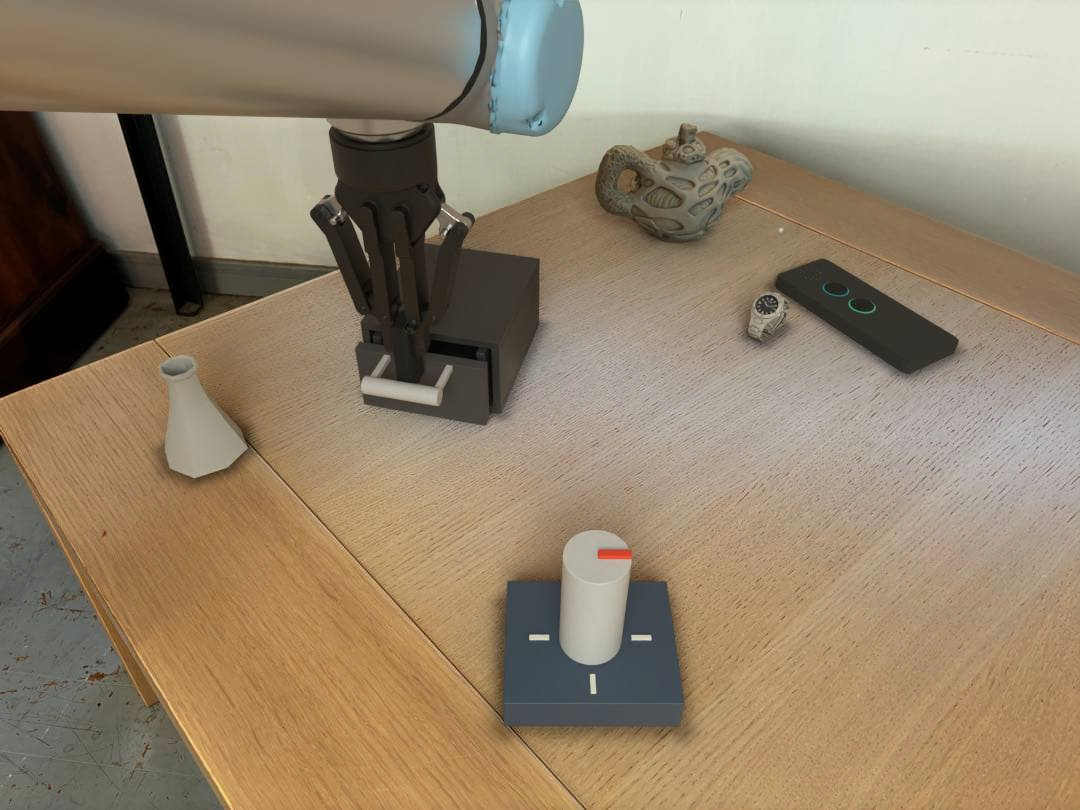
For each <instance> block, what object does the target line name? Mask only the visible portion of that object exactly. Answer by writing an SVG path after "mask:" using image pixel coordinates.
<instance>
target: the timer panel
mask: <svg viewBox="0 0 1080 810" xmlns="http://www.w3.org/2000/svg"><path fill="white" fill-rule="evenodd" d="M561 582H562V580H507V581H506V603H505V604H506V605H505V631H504V632H505V634H504V635H505V637H504V639H505V640H504V661H503V662H504V663H503V665H504V667H503V692H502V693H503V695H502V700H503V701H502V708H503V709H502V710H503V727H680V725H681V721H682V720H681V719H682V715H683V712H684V707H685V698H684V691H683V683H682V677H681V671H680V670H681V669H680V664H679V656H678V650H677V643H676V637H675V630H674V622H673V616H672V615H673V614H672V608H671V601H670V596H669V589H668V582H667V581H665V580H662V581H661V580H660V581H659V580H657V581H656V580H655V581H654V580H653V581H649V580H648V581H647V580H646V581H645V580H644V581H643V580H642V581H641V580H640V581H639V580H634V581H633V580H629V587H628V595H627V603H626V610H625V618H624V626H623V634H622V641H621V646H620V649H619V651H618V653H617V654H616V655H615V656H614V657H613V658H612V659H611V660H609V661H607V662H605V663H602V664H598V665H585V664H581V663H579V662H576V661H574V660H573V659H571V658H570V657H569V656H568V655H567V654H566V653H565V652H564V651H563V649H562V647H561V645H560V641H559V629H560V605H561Z"/></svg>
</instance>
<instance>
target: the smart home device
mask: <svg viewBox="0 0 1080 810" xmlns="http://www.w3.org/2000/svg"><path fill="white" fill-rule="evenodd" d="M775 283H776V284H775V288H776V289H778V290H779V291H780V292H781V293H783V294H785V295H786V296H787V297H789V298H790V299H791V300H793V301H795V302H796V303H797V304H799V305H800V306H802V307H804V308H805V309H807V310H808V311H809V312H811V313H813V314H814V315H816V316H817V317H819V318H820V319H822V320H823V321H825V322H826V323H827V324H829V325H831V326H832V327H834V328H835V329H837V330H838V331H840V333H843V334H844V335H845V336H847V337H848V338H850V339H852V340H853V341H855V342H856V343H858V344H859V345H861V347H863V348H866V350H868V351H869V352H871V353H872V354H874V355H876V356H877V357H879V358H880V359H881V360H883V361H884V362H886V363H887V364H889V365H891V366H892V367H894V368H895V369H896V370H898V371H900V372H902V373H904V374H906V375H907V374H908V375H910V374H913V373H914V372H917V371H919V370H921V369H923V368H925V367H928V366H929V365H932V364H934V363H936V362H938V361H941V360H943V359H945V358H947V357H949V356H951V355H953V354H955V352H956V350H957V347H958V345H959V343H960V340H959V338H958V337H957V336H955V335H954V334H952V333H951V332H948V330H945V329H944V328H942V327H941V326H939V325H937V324H935V323H934V322H932V321H930V320H929V319H927V318H926V317H924V316H922V315H920V314H919V313H917V312H916V311H913V310H912V309H911V308H909V307H907V306H905V305H904V304H903V303H901V302H899V301H897V300H896V299H894V298H893V297H891V296H889V295H888V294H886V293H884V292H882V291H880V290H879V289H877V288H876V287H874V286H873V285H870V284H869V283H867V282H866V281H864V280H863V279H861V278H859V277H858V276H855V275H854V274H852V273H851V272H849V271H847V270H846V269H844V268H842V267H841V266H839V265H837V264H835V263H834V262H833V261H830V260H828V259H827V258H819V259H816V260H814V261H811V262H808V263H805V264H802V265H799V266H797V267H793V268H791V269H788V270H785V271H783V272H780V273H778V274H777V277H776V282H775Z"/></svg>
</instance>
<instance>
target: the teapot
mask: <svg viewBox="0 0 1080 810" xmlns="http://www.w3.org/2000/svg"><path fill="white" fill-rule="evenodd" d="M697 132H698V126H697V125H692V124H691V123H690V122H689V123H686V122H685V123H680V126H679V130H678V134H677V135H675V136H671V137H668V138H666V140H665V142H664V144H663V145H662V150H661V152H662V156H661V157H660V158H658V159H654V158H651V157H650V156H649V155H648V154H646V153H645V152H644V151H643V150H640V149H638V148H636V147H635V146H633V145H631V144H630V145H626V144H615V145H613V146H611V148H609V149H608V150H607V151H606V152H605V153H604V155H603V156H602V159H601V160H600V163H599V165H598V169H597V173H596V179H595V184H594V194H595V197H596V200H597V202H598V204H599V206H600V207H601V208H602V209H603V210H604V211H605V212H606V213H607V214H608V215H611V216H617V217H623V218H626V219H628V220H630V221H633V222H634V223H635V224H637V225H638V226H640V227H641V228H642V229H644V231H645V232H646V233H648V234H652V235H653V236H656V237H657V238H658V239H659V240H661V241H663V242H664V241H665V242H668V243H681V242H682V243H684V242H689V241H690V242H691V241H692V242H693V241H698V240H700V239H701V237H702V236H703V235H705V234H706V230H710V229H711V228H714V227H715V225H716V224H717V222H719V220H720V219H721V216H722V213H723V210H724V208H725V205H726V203H727V202H728V201H729V200H730V199H731V198H733V197H735V196H737V195H738V194H740V193H741V192H743V190H744V189H746V187H747V185H748V184H749V183H751V182H753V180H754V179H753V178H754V177H753V176H754V167H753V166H752V163H751V161H750V159H749V158H748V157H747V156H746V155H745V154H744V153H742V152H740V151H739V150H737V149H736V148H734V147H733V148H731V147H726V146H723V147H722V148H718V149H714V150H713V151H711V152H709V153H708V154H707V148H706V146H705V143H704V142H703V141H702V140H701V139H700V138H699V137H698V136H696V134H697ZM625 170H630V171H632V172H635V175H634V176H633V177H631V179H630V182H629V185H628V187H627V188H618V180H619V178H620V176H621V174H622V172H624V171H625Z"/></svg>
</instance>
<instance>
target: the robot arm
mask: <svg viewBox="0 0 1080 810" xmlns="http://www.w3.org/2000/svg"><path fill="white" fill-rule="evenodd" d="M584 49H585V24H584V15H583V9H582V6H581V2H580V0H0V111H3V112H4V111H7V112H44V113H45V112H46V113H87V114H89V113H90V114H124V115H125V114H127V115H129V114H130V115H168V116H170V115H173V116H205V117H207V116H211V117H248V118H249V117H250V118H251V117H252V118H253V117H254V118H293V119H294V118H295V119H296V118H297V119H326V120H325V121H326V122H327V123H328V124H329V125H330V127H329V130H328V138H329V145H330V152H331V157H332V164H333V170H334V173H335V176H336V178H337V183H336V184H335V187H334V191H333V192H334V193H333V194H325V195H324V196H323V197H322V198H321V199H320V200H319V201H318V202H317V203H316V204H315V205H314V207H312V208H311V210H310V211H309V215H310V218H311V220H312V221H313V222H314V224H315V225H316V226H317V227H318V229H319V230H320V231H321V232H322V233H323V235H324V236H325V239H326V241H327V242H328V246H329V248H330V250H331V253H332V255H333V257H334V260H335V262H336V264H337V267H338V269H339V271H340V274H341V277H342V279H343V282H344V284H345V287H346V289H347V291H348V293H349V296H350V298H351V301H352V303H353V305H354V308H355V310H356V312H357V313H358V314H359V315H361V316H365V315H368V314H370V315H372V316H374V317H376V318H377V319H378V321H379V322H380V324H381V331H382V338H383V345H384V348H385V350H386V351H387V352H394V360H395V367H396V375H397V381H402V382H408V383H414V384H418V382H419V381H420V379H421V377H422V375H423V373H424V363H423V357H424V356H425V354H426V352H427V350H428V349H429V347H430V344H431V339H430V329H429V324H430V325H432V326H437V325H439V324H440V322H441V320H442V319H443V317H444V315H445V313H446V312H447V310H448V308H449V306H450V301H451V297H452V292H453V287H454V282H455V278H456V273H457V268H458V263H459V258H460V254H461V249H462V248H463V245H464V240H466V237H468V235H469V233H470V231H471V230H472V228H473V227H474V225H475V223H476V217H475V215H474V214H473V213H472V212H469V211H464V212H462V213H459V211H457V210H455V209H454V208H453V207H451V206H450V205H449V204H448V203H446V202H447V201H446V200H447V199H446V194H445V192H444V191H443V189H442V187H441V185H440V182H439V178H438V177H439V176H438V174H439V173H438V172H439V171H438V154H437V142H436V141H437V140H436V127H435V124H449V125H450V124H451V125H459V126H465V127H470V128H475V129H479V130H484V131H488V132H489V133H490V134H494V135H501V134H503V133H504V134H510V135H517V136H524V137H532V138H533V137H536V138H537V137H542V136H545V135H547V134H550V133H551V132H552V131H553V130H554V129H555V128H557V127H558V125H559V124H560V123H561V122H562V121H563V119H564V118H565V116H566V115H567V113H568V111H569V109H570V107H571V105H572V102H573V100H574V97H575V94H576V91H577V88H578V84H579V81H580V76H581V70H582V64H583V57H584ZM435 220H437V221H438V223H439V226H438V233H439V238H440V239H441V240H443V241H442V242H441V244H440V245H441V246H440V249H439V253H438V258H437V263H436V269H435V274H434V279H433V285H432V290H431V295H430V301H429V295H428V284H427V274H426V263H425V253H424V243H425V241H426V232H427V231H428V229H430V227H431V226H432V224H433V223H434V221H435ZM352 221H353V222H352ZM354 224H355V225H356V226H357V228H358V229H359V230H360V231H361V235H362V241H363V246H362V243H361V241H360V239H359V235H358V233H357V232H356V229H355V225H354ZM365 253H366V254H367V257H368V259H367V257H366V254H365ZM397 258H398V263H399V264H398V265H399V267H400V273H401V281H402V290H403V298H404V300H402V302H401V299H400V292H399V283H398V275H397V270H398V266H397ZM403 302H404V306H405V310H401V312H400V313H399V308H400V307H401V305H402V304H403Z"/></svg>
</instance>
